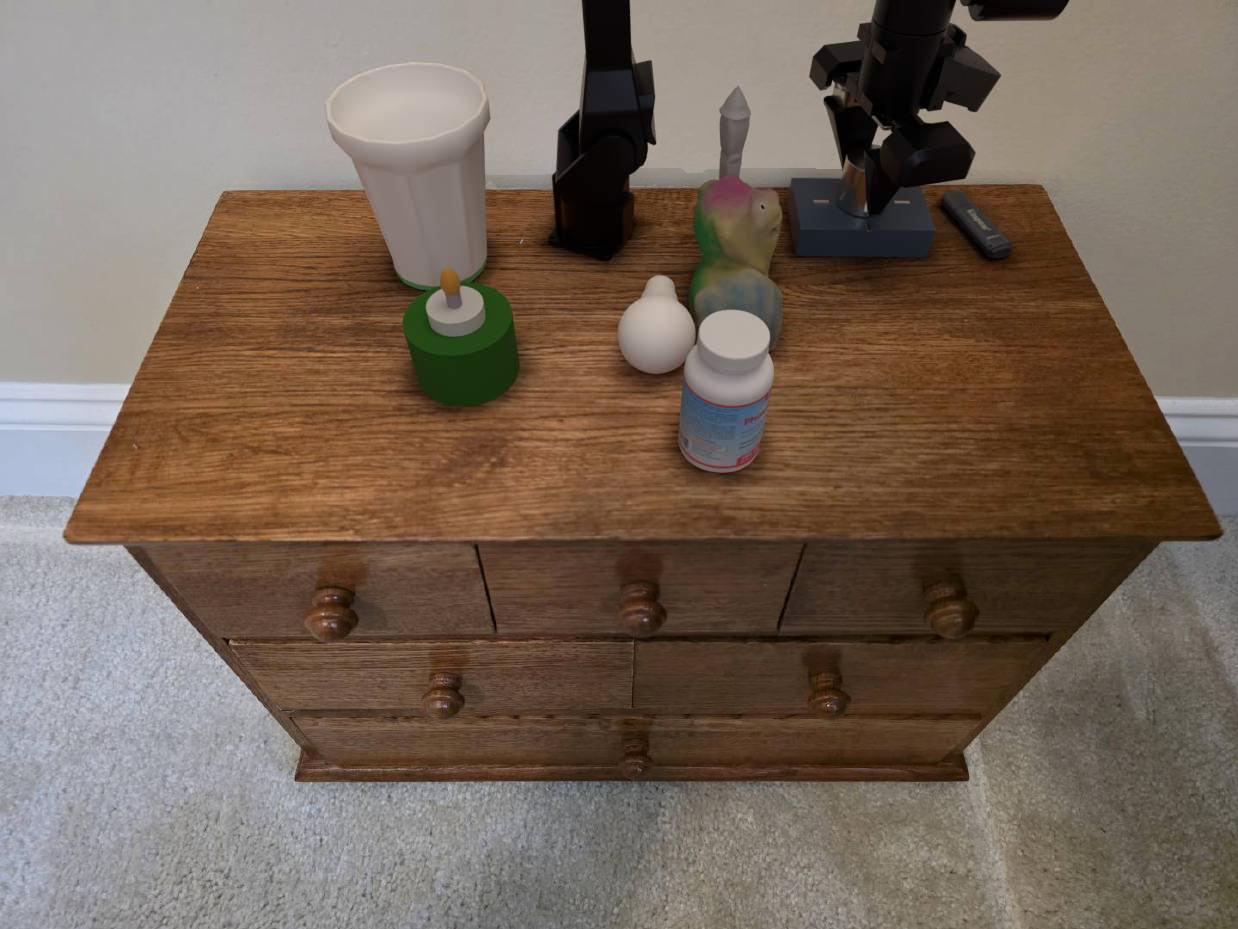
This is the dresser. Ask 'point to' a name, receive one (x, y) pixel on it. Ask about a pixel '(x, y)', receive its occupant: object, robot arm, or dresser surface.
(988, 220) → the usb stick
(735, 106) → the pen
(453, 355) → the candle
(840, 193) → the dial knob
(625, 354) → the lightbulb
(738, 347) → the pill bottle
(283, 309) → the dresser surface
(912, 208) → the dial base
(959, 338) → the dresser surface
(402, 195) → the cup
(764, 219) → the sculpture
